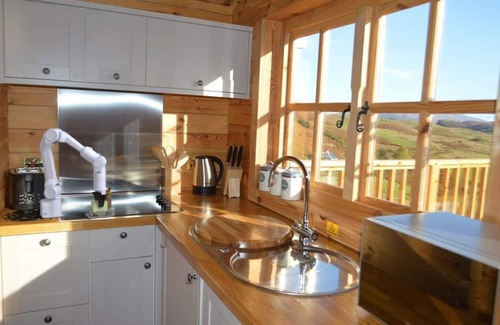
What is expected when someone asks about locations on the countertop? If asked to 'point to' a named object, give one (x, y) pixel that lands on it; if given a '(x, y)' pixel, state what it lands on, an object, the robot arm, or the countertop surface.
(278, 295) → the countertop surface
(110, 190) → the condiment
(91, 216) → the chassis
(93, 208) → the pale green block
